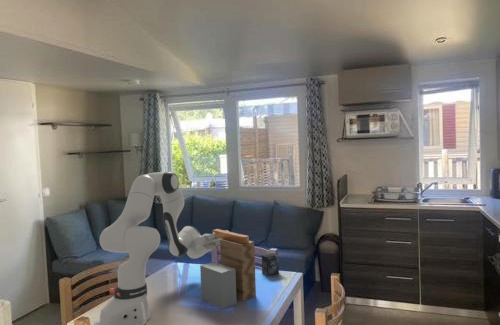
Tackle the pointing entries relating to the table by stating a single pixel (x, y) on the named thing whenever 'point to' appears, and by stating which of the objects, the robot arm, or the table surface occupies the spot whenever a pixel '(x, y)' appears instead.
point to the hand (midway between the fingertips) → (220, 232)
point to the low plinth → (218, 284)
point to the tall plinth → (240, 266)
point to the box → (270, 264)
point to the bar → (231, 236)
